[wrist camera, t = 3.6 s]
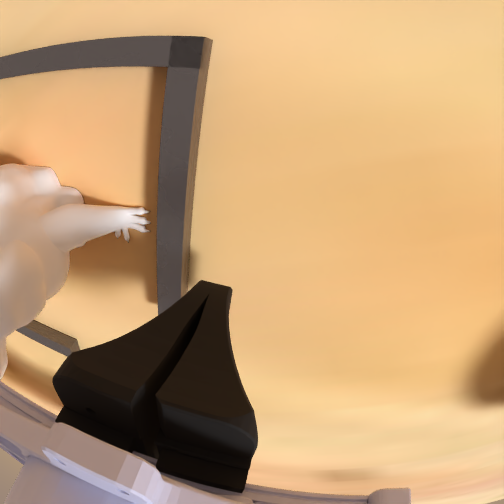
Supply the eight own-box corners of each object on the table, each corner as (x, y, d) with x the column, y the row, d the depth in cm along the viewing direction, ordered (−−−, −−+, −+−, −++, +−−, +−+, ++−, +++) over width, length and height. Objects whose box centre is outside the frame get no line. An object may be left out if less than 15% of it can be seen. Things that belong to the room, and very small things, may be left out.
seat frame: (185, 387, 20) (181, 399, 19) (-14, 303, 22) (-20, 309, 21) (212, 40, 10) (204, 37, 9) (-55, 77, 11) (-65, 79, 10)
